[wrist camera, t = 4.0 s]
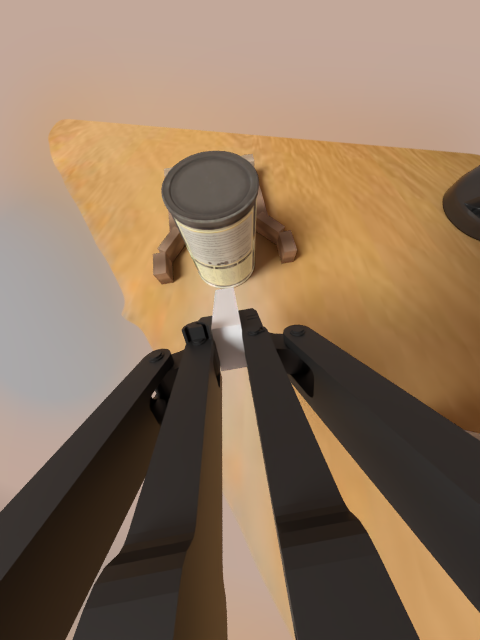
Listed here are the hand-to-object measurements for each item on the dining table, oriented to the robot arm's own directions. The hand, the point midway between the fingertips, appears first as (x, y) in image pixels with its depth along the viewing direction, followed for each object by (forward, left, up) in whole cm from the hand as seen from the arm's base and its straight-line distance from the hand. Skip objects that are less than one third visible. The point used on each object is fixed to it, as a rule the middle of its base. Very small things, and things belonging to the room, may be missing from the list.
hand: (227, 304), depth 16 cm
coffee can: (-12, -7, -14) cm, 20 cm away
